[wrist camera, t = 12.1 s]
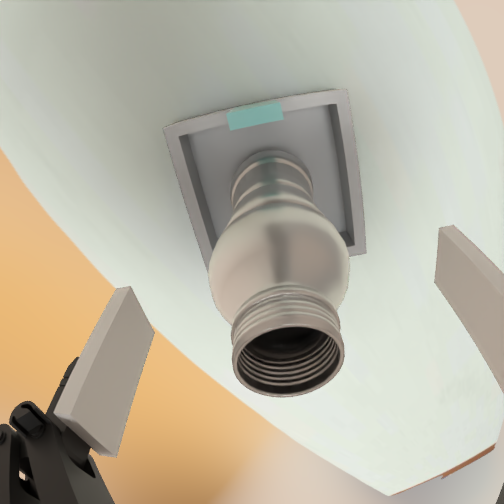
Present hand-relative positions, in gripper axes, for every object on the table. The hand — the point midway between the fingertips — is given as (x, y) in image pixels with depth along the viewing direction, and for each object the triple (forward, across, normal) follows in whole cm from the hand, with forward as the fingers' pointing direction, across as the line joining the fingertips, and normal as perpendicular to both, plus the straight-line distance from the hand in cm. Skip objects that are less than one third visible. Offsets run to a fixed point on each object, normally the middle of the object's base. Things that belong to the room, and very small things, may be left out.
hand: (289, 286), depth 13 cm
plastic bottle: (+16, 0, -1) cm, 17 cm away
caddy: (+17, 0, -1) cm, 17 cm away
